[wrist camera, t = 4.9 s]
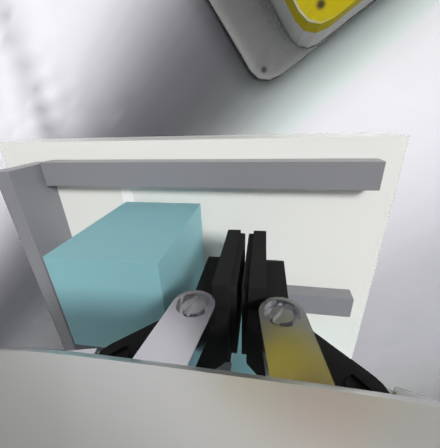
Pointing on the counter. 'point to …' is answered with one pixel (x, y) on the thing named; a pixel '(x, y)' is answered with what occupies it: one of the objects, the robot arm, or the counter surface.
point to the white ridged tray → (224, 205)
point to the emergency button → (282, 29)
